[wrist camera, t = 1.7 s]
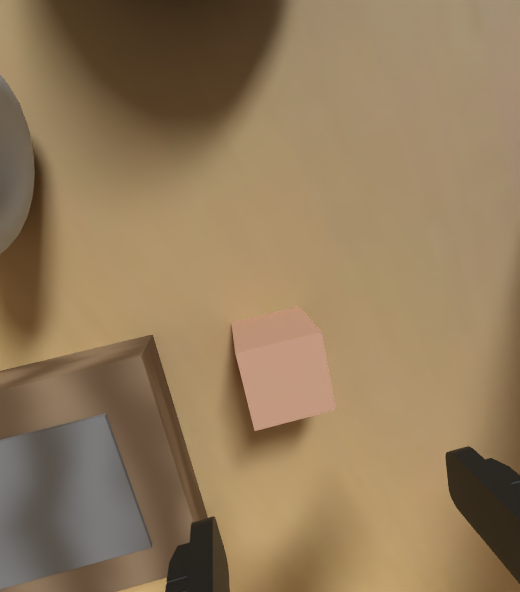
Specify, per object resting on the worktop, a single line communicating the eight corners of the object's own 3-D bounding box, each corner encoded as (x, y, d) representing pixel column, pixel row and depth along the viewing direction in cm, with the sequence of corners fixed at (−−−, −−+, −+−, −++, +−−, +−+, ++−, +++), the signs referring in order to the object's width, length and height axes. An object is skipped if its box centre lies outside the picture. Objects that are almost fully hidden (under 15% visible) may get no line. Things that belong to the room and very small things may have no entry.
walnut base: (152, 334, 26) (140, 358, 22) (208, 519, 29) (207, 569, 25) (-85, 391, 25) (-146, 427, 20) (5, 575, 28) (-32, 637, 24)
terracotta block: (298, 306, 27) (321, 332, 21) (311, 368, 28) (336, 409, 22) (231, 322, 26) (235, 353, 20) (246, 385, 27) (254, 431, 22)
